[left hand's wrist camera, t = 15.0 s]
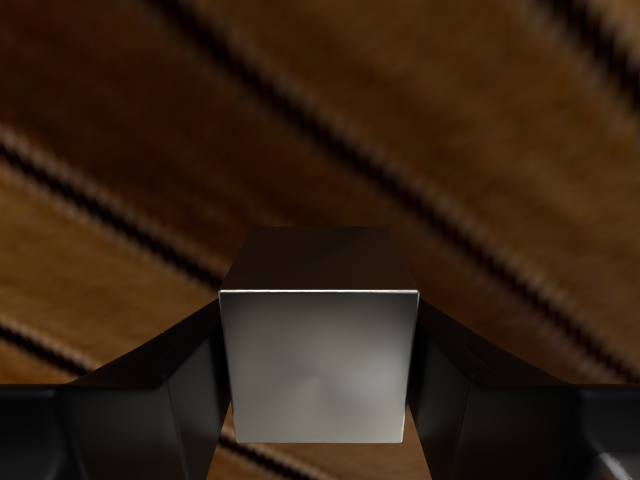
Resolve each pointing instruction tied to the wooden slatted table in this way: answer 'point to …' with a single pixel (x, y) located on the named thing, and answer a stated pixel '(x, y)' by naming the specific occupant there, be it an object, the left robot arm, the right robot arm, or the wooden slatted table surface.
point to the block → (319, 335)
